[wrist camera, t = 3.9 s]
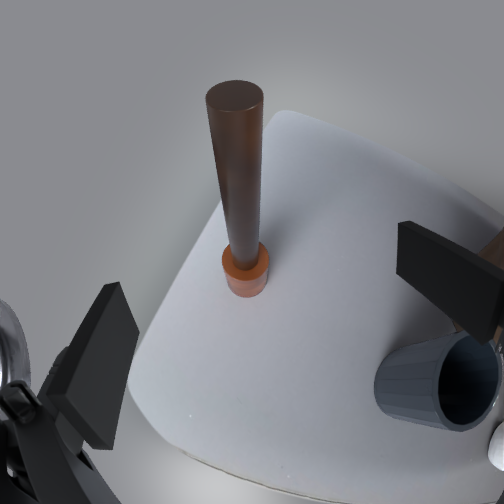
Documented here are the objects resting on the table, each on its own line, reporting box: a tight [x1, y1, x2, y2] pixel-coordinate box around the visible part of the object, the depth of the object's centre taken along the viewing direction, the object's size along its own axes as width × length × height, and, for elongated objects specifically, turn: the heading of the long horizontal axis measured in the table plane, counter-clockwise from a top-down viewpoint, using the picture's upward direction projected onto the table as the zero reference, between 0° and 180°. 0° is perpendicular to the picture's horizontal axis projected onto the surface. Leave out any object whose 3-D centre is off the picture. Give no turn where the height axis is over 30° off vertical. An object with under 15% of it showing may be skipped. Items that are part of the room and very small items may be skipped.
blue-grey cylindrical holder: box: [374, 330, 502, 432], centre depth 22 cm, size 9×9×12 cm
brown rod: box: [206, 80, 269, 297], centre depth 22 cm, size 4×4×24 cm
